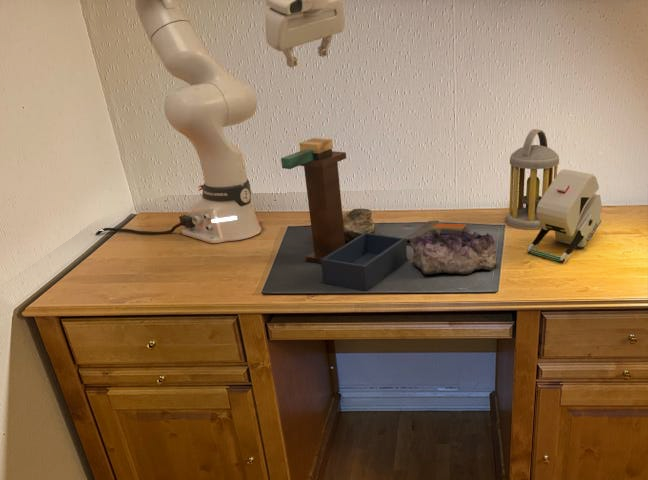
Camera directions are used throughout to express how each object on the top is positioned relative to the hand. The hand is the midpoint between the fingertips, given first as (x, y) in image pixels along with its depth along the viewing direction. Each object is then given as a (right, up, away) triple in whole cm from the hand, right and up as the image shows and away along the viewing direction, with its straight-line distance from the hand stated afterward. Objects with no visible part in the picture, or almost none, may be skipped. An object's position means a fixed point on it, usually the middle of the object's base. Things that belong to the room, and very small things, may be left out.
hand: (307, 60), depth 147 cm
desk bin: (+12, -46, +9) cm, 49 cm away
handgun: (+30, -35, +29) cm, 54 cm away
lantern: (+56, -28, +39) cm, 74 cm away
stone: (+8, -35, +30) cm, 46 cm away
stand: (+2, -41, +18) cm, 45 cm away
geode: (+33, -45, +10) cm, 57 cm away
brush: (-1, -22, +2) cm, 22 cm away
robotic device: (+62, -39, +20) cm, 76 cm away
